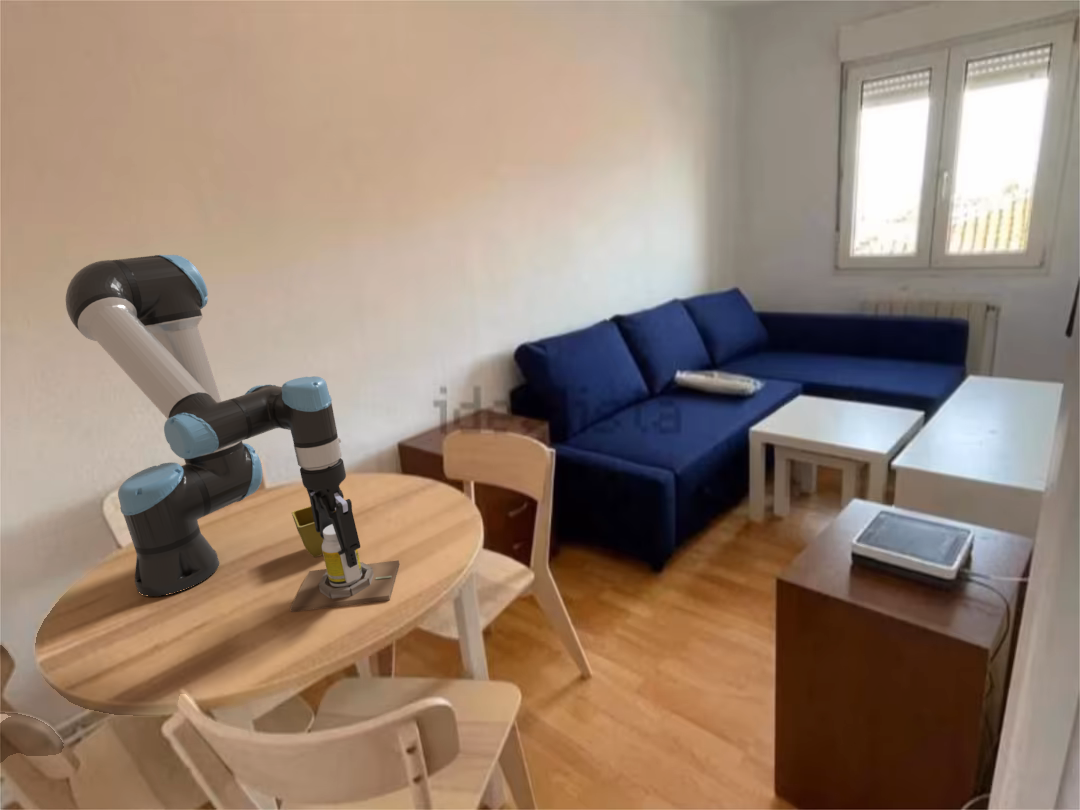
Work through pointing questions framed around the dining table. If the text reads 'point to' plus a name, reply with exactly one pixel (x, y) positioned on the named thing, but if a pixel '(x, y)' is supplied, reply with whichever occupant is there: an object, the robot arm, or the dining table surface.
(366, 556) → the dining table surface
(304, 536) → the flower pot
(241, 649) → the dining table surface
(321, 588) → the collar base
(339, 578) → the pill bottle
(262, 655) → the dining table surface
